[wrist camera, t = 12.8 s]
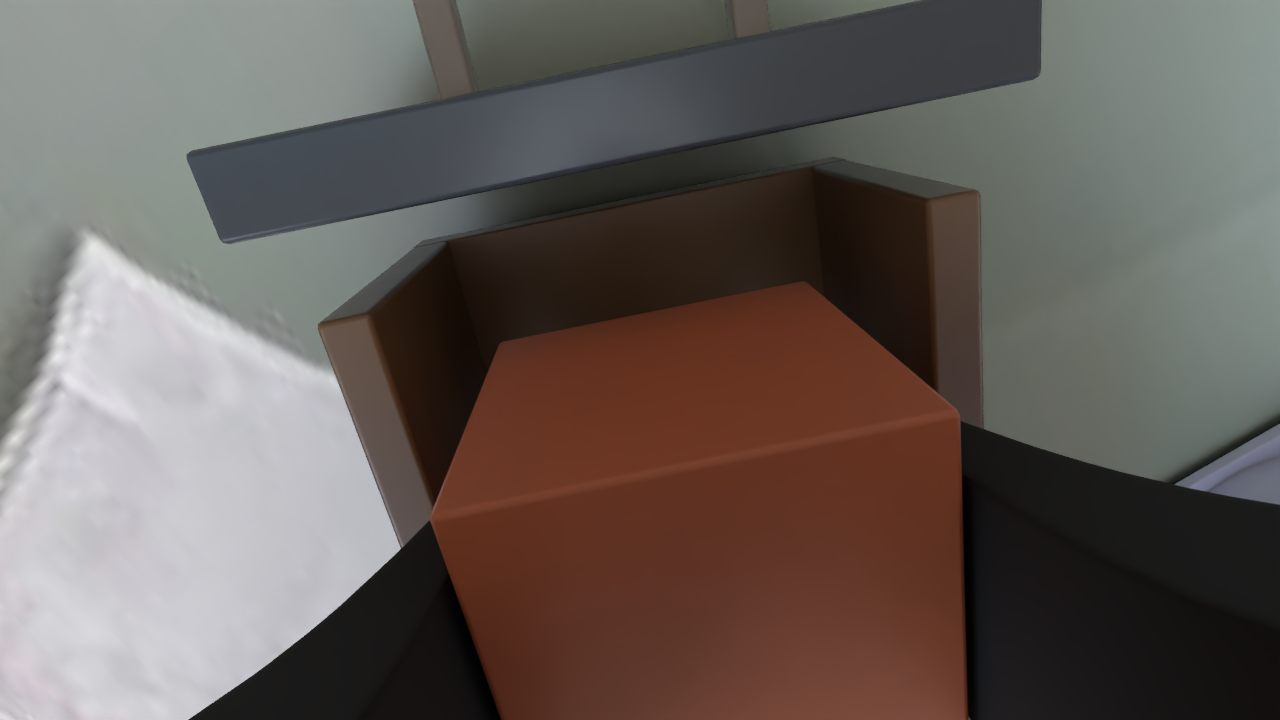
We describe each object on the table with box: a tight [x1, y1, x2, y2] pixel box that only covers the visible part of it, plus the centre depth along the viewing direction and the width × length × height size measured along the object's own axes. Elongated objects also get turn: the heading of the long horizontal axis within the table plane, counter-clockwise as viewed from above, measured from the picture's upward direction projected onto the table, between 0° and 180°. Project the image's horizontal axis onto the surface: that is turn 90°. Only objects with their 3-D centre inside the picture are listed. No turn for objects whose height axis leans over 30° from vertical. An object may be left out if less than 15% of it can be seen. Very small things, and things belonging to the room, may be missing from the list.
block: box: [430, 281, 968, 720], centre depth 9 cm, size 5×5×5 cm
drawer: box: [187, 0, 1042, 549], centre depth 13 cm, size 17×11×7 cm, turn 11°
